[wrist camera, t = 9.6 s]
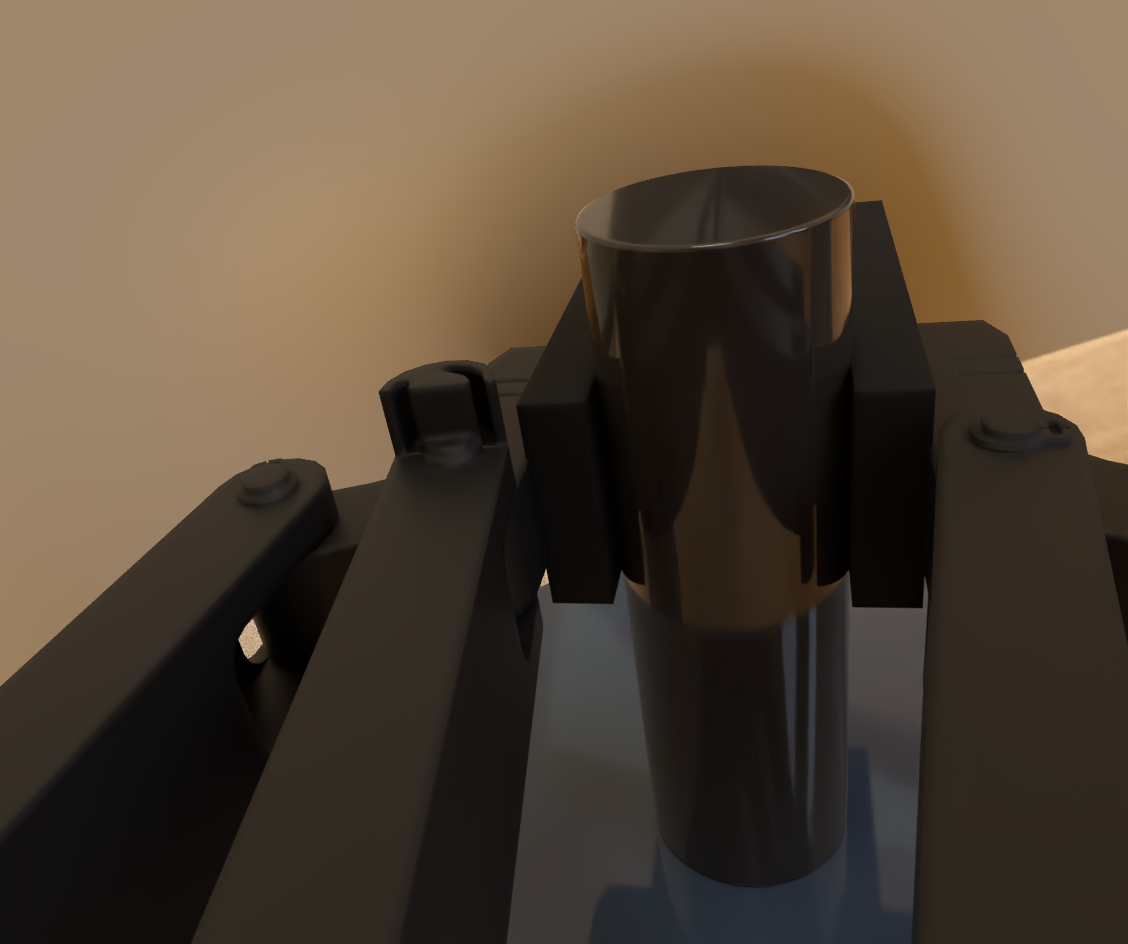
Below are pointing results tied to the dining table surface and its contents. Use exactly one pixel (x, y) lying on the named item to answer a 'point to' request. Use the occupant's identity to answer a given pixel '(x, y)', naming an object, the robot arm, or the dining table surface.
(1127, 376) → the dining table surface
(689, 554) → the lid
